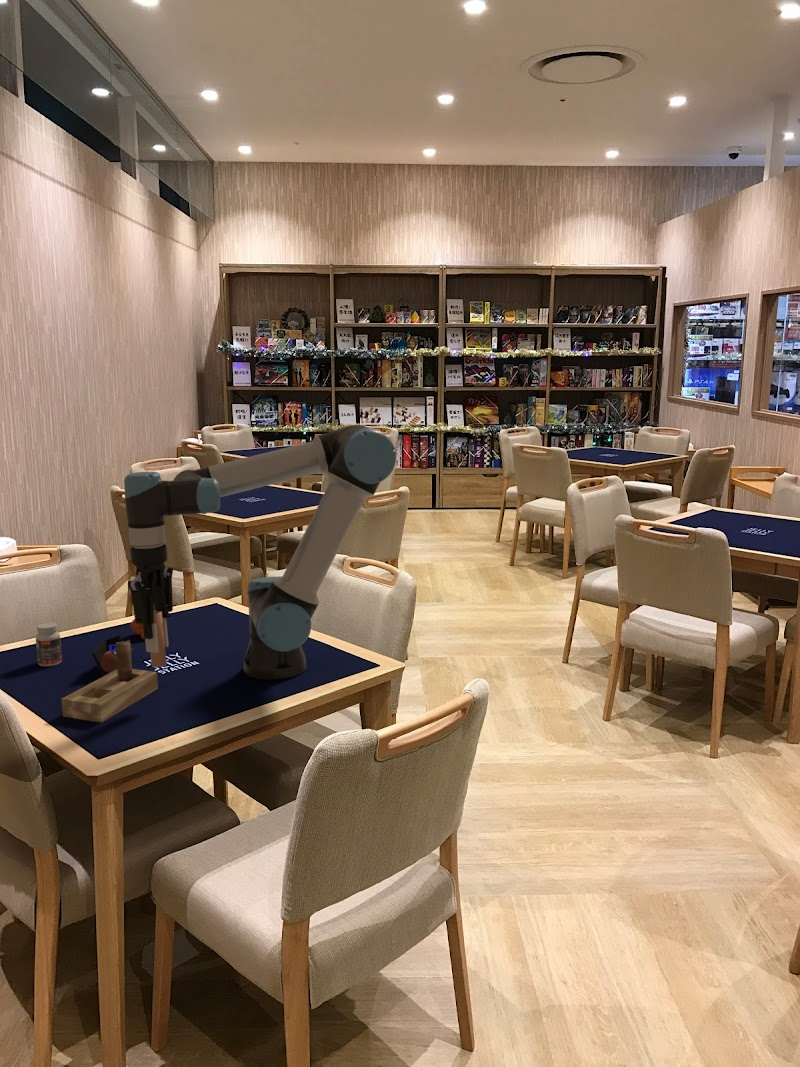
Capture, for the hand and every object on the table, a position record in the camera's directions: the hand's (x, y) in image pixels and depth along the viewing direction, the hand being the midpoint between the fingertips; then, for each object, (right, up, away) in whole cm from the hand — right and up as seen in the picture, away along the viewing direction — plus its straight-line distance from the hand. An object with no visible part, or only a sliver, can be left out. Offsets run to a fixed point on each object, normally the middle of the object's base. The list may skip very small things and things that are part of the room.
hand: (157, 648), depth 188 cm
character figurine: (-17, -8, +23) cm, 30 cm away
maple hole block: (-11, -12, +3) cm, 17 cm away
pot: (-17, -3, +49) cm, 52 cm away
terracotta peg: (0, -4, +1) cm, 4 cm away
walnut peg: (-9, -11, +7) cm, 16 cm away
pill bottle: (-35, -8, +28) cm, 45 cm away
